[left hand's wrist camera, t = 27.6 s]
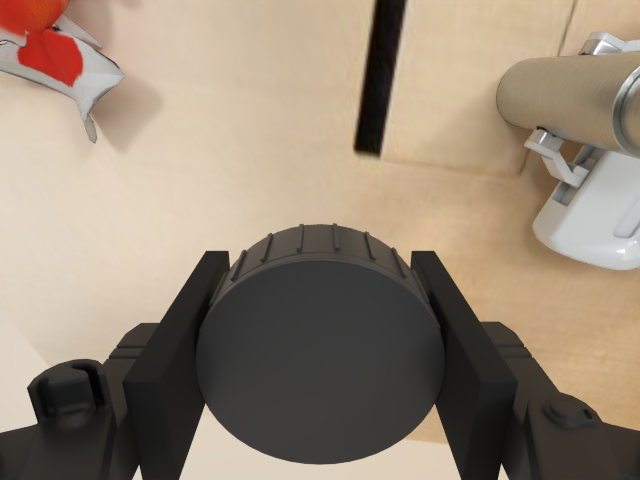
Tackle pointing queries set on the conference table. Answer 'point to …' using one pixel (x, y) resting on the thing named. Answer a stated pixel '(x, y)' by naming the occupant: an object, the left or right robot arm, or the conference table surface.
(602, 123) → the jar
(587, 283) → the conference table surface
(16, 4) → the fish
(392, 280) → the lid
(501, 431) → the left robot arm
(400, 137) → the conference table surface
